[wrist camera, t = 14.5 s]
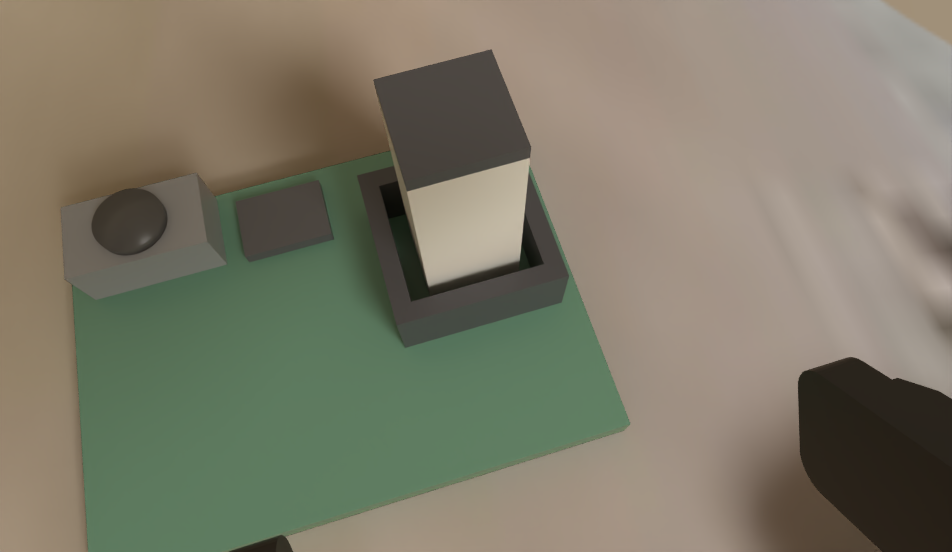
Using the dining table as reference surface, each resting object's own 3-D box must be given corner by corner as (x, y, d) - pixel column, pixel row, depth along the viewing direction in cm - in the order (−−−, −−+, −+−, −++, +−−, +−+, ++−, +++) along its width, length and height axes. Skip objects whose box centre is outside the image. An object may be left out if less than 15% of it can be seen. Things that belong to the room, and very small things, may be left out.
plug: (432, 306, 30) (404, 181, 20) (409, 230, 31) (373, 79, 21) (517, 281, 30) (530, 147, 20) (490, 207, 32) (491, 49, 22)
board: (111, 590, 27) (41, 596, 23) (86, 248, 33) (28, 202, 29) (623, 430, 29) (646, 408, 25) (510, 136, 35) (513, 79, 31)
